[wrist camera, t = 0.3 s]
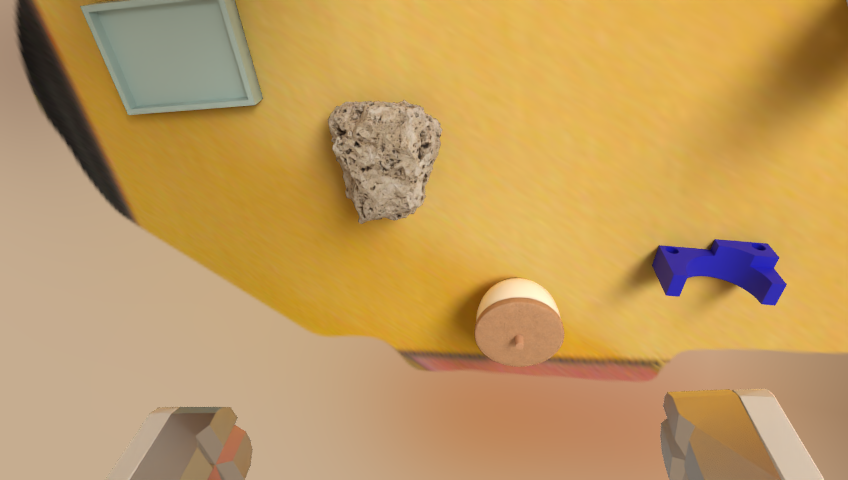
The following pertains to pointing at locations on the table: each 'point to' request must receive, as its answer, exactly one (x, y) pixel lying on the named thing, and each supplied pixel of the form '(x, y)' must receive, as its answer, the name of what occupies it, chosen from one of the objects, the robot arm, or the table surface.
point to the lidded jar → (518, 323)
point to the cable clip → (722, 267)
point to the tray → (175, 54)
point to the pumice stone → (384, 155)
